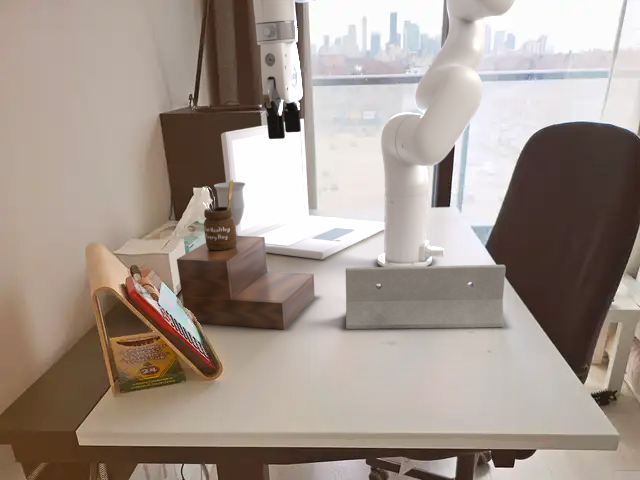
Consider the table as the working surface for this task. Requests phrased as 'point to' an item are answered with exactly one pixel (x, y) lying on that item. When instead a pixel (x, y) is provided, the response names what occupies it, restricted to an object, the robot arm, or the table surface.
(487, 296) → the barrier
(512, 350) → the table surface
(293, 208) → the laptop
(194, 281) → the step shelf
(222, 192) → the chalice
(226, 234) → the utensil holder
